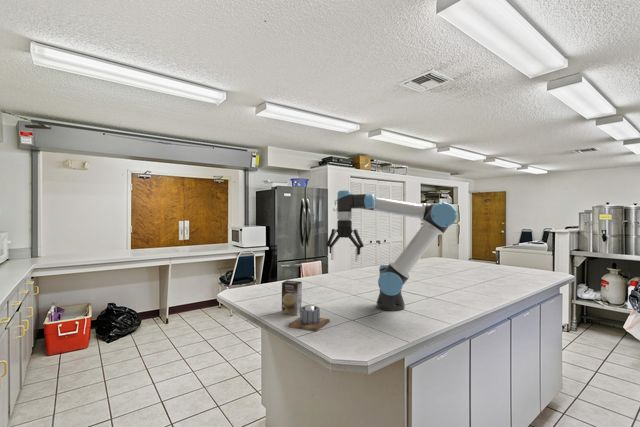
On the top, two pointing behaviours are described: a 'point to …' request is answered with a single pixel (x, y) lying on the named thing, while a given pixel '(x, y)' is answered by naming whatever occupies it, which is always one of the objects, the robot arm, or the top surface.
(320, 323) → the base
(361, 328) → the top surface
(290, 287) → the coffee box
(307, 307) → the post
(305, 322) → the grey ribbed cylinder
